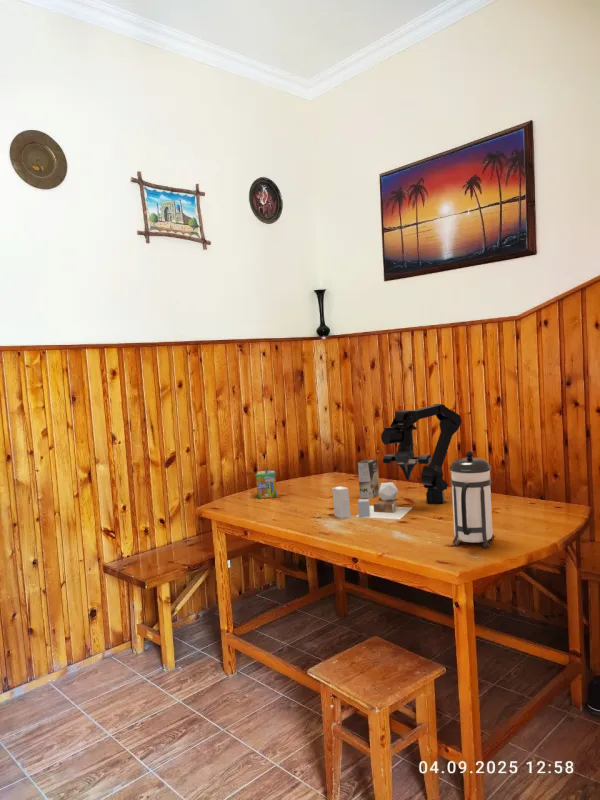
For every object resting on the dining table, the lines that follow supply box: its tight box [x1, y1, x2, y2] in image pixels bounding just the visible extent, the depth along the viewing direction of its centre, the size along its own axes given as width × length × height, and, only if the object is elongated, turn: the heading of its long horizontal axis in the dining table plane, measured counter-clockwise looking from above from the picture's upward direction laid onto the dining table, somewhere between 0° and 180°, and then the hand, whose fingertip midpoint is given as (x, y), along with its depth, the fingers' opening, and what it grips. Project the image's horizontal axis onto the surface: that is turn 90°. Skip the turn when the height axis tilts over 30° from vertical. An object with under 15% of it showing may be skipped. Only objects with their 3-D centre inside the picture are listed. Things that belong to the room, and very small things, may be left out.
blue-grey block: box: [357, 498, 371, 518], centre depth 236 cm, size 4×4×6 cm
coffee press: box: [449, 450, 495, 549], centre depth 194 cm, size 17×16×30 cm
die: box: [377, 481, 399, 502], centre depth 260 cm, size 8×9×10 cm
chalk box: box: [255, 464, 278, 499], centre depth 284 cm, size 9×9×15 cm
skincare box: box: [331, 486, 352, 520], centre depth 236 cm, size 6×4×12 cm
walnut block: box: [373, 500, 398, 513], centre depth 241 cm, size 3×5×8 cm
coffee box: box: [357, 458, 380, 499], centre depth 271 cm, size 9×6×16 cm
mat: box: [355, 505, 413, 520], centre depth 239 cm, size 18×18×1 cm
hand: (408, 480), depth 242 cm, fingers closed
